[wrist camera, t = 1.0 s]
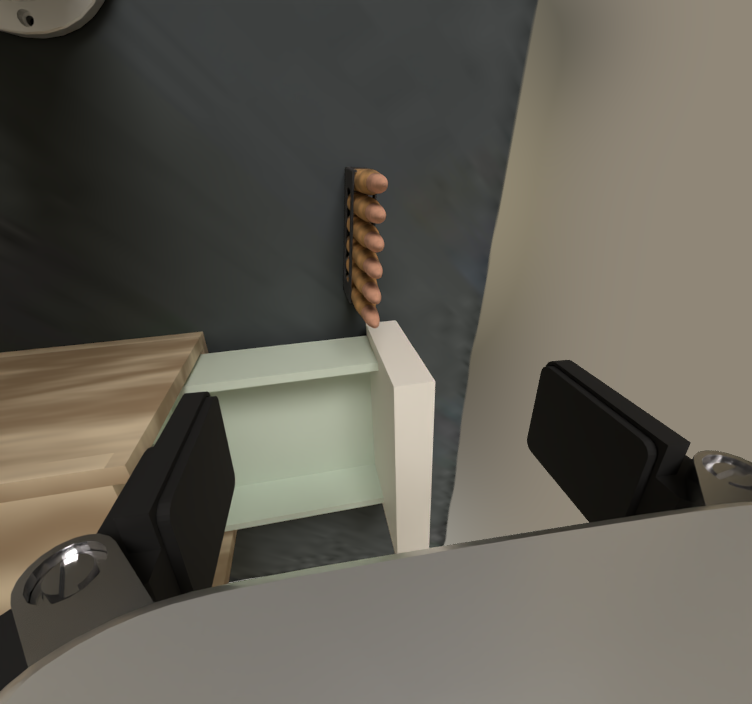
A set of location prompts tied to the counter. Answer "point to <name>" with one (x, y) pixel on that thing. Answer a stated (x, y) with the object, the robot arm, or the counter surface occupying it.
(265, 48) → the counter surface
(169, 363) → the cabinet
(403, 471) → the drawer
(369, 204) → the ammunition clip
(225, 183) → the counter surface
